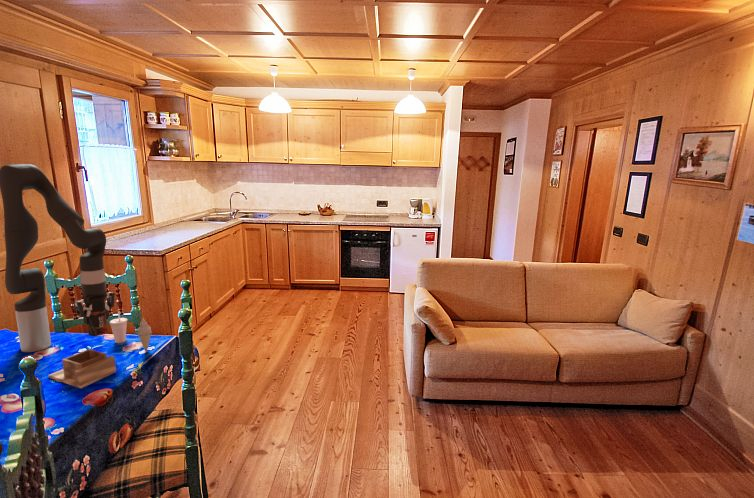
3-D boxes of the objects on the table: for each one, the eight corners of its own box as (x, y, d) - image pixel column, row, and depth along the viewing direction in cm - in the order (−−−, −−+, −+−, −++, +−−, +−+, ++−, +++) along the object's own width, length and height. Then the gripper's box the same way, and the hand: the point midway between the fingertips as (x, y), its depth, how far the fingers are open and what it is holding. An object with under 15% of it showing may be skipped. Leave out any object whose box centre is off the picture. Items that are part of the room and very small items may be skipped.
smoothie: (120, 345, 157) (117, 314, 155) (107, 343, 158) (104, 312, 156) (132, 339, 163) (130, 309, 161) (120, 337, 165) (117, 307, 162)
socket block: (64, 376, 130) (62, 359, 129) (91, 365, 139) (89, 348, 137) (81, 382, 127) (79, 364, 126) (107, 370, 136) (106, 353, 134)
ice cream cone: (140, 349, 154) (137, 315, 151) (154, 347, 156) (151, 314, 153) (137, 354, 150) (134, 320, 147) (152, 353, 152) (149, 318, 149)
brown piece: (48, 377, 131) (46, 361, 130) (85, 362, 142) (83, 348, 141) (80, 388, 125) (78, 372, 124) (116, 371, 137) (114, 356, 135)
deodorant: (99, 336, 142) (95, 299, 139) (84, 335, 142) (80, 298, 139) (111, 330, 148) (108, 294, 145) (97, 329, 148) (93, 293, 145)
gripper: (79, 287, 133) (84, 330, 136) (118, 277, 146) (122, 317, 150) (65, 283, 135) (70, 326, 139) (105, 274, 149) (108, 314, 152)
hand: (97, 321), depth 144 cm, fingers closed on deodorant, 6 cm apart
